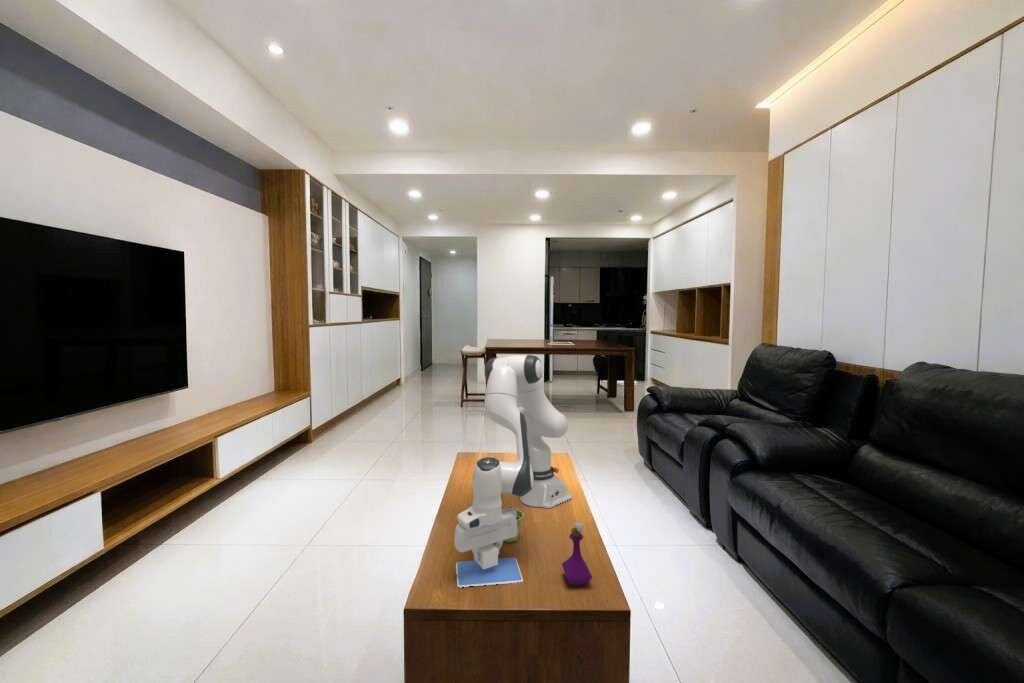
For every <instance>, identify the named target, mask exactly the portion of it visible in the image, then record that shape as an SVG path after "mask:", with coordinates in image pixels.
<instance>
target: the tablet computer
mask: <svg viewBox="0 0 1024 683" xmlns="http://www.w3.org/2000/svg"><path fill="white" fill-rule="evenodd" d="M455 574H456V575H457V577H456V586H457V588H458V587H459V589H463V588H462V587H464V588H470V587H469V586H474V587H482V586H483V587H485V586H484V585H486V586H494V585H495V586H496V584H498V585H509V584H510V583H511V584H521V583H520V582H522V583H524V579H523V576H522V573H521V570H520V566H519V563H518V561H517V558H516V557H503V558H502V557H500V558H498V565H495V566H492V567H489V568H486V569H482V568H481V567H480V565H479V564H478V563H477V562H476V561H475V560H467V561H464V560H463V561H457V562H456V563H455ZM517 582H519V583H517Z"/></svg>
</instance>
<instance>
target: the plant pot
mask: <svg viewBox="0 0 1024 683" xmlns="http://www.w3.org/2000/svg"><path fill="white" fill-rule="evenodd" d="M515 509H516V511H517V516H516V521H517V535H516V536H515V537H513V538H509V539H506V540H503V542H506V543H513V542H517V541H518V540H519V536H520V529H521V522H522V521H523V518H524V513H523V511H522V510H520V509H517V508H515Z"/></svg>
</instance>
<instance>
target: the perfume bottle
mask: <svg viewBox="0 0 1024 683" xmlns="http://www.w3.org/2000/svg"><path fill="white" fill-rule="evenodd" d="M573 525H574V527H572V528H571V530H570V531H571V533H570V534H569V536H568V537H569V538H570V540H571V541H572V544H573V550H572V554H571V556H569V557H568V559H566V560H565V561H563V562H562V563H561V566H562V569H563V572H564V575H565V578H566V580H567V581H568V584H569V585H570V586H571V585H576V586H586V584H588V583H589V582H590V581H591V580H592V579H593V575H592V573H591V572H590V569H589V566H588V564H587V562H586V561H585V560H584V558H583V555H582V553H581V545H580V544H581V541H582V540H583V539H584V535H583V534H582V529H583V526H584V524H583V522H573Z"/></svg>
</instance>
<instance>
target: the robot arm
mask: <svg viewBox="0 0 1024 683" xmlns="http://www.w3.org/2000/svg"><path fill="white" fill-rule="evenodd" d="M484 377H485V379H486V381H487V384H486V388H485V394H484V412H485V414H486V416H487V417H488V418H489V419H490V420H491V421H492V422H494V423H495V424H496V425H497V424H498V425H499V426H501V427H504V428H506V429H508V430H509V431H511V432H512V433H513V434H514V436H515V443H516V444H515V445H516V452H517V453H516V454H517V460H516V461H515V462H513V461H500V460H498V459H497V458H495V457H490V456H487V457H482V458H479V459H478V460H477V461H476V463H475V466H474V471H473V474H472V475H473V476H472V492H473V500H472V505H471V506H469V507H468V508H466V509H464V510H463V511H461V512H460V513H458V514H457V517H456V519H457V521H458V523H457V524H456V527H455V529H454V530H455V531H454V538H453V541H454V542H453V543H454V548H455V549H456V551H458V552H459V553H461V554H463V553H465V552H466V553H467V552H469V551H471V552H472V553H473V559H474V560H473V561H479V560H481V555H480V554H479V553H478V552H477V553H476V551H478V548H479V547H483V546H486V545H489V544H494V545H495V546H496V547H497V548H498V555H500V549H501V547H502V546H503V544H504V541H503V540H506V539H509V538H513V537H515V536H516V535H517V521H516V516H517V511H516V509H517V508H515V507H513V506H508V507H506V508H503V501H502V497H501V496H502V494H509V495H514V496H519V497H520V498H519V499H520V502H521V503H522V504H524V505H527V506H529V507H536V508H544V509H552V508H554V507H556V505H557V506H558V504H559V505H561V504H563V503H562V502H564V503H565V501H566V502H568V501H570V500H569V499H571V498H572V499H573V495H572V494H571V493H570V492H569V491H568V488H567V485H566V482H564V481H563V479H561V478H560V477H558V476H557V475H556V474H558V473H559V470H560V469H559V468H558V467H554V466H552V449H551V448H550V445H548V443H546V442H545V441H544V439H543V437H545V438H548V439H552V438H553V439H559V438H562V437H563V436H565V434H566V433H567V430H568V428H569V422H568V419H567V417H566V415H565V414H563V413H562V412H560V411H559V410H558V409H556V408H555V406H553V404H552V402H551V401H550V400H549V399H548V397H547V395H546V393H545V391H544V387H543V383H542V380H541V378H542V377H543V365H542V360H541V359H540V358H539V357H538V356H537V355H534V354H527V355H526V354H525V355H523V354H515V355H507V356H506V355H505V356H500V357H497V356H496V357H492V358H490V359H488V361H487V362H486V363H485V366H484ZM518 404H519V405H520V407H518ZM572 499H571V500H572ZM567 500H568V501H567ZM560 503H561V504H560Z"/></svg>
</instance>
